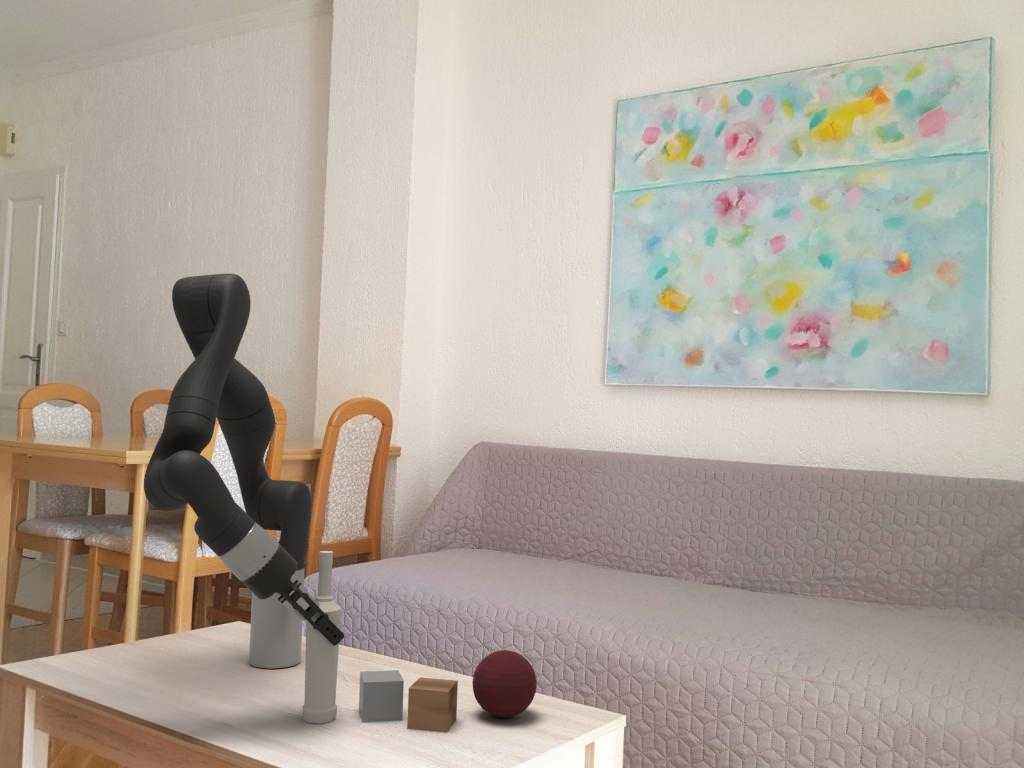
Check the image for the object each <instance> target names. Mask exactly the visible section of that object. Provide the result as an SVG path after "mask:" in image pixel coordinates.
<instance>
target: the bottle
mask: <svg viewBox="0 0 1024 768" xmlns="http://www.w3.org/2000/svg"><path fill="white" fill-rule="evenodd" d="M318 557H319V558H318V565H319V566H318V585H317V587H318V588H317V595H316V596H315V597H314V599H315V600H316V601H317V602H318V603H319V608H320V609H321V610H322V611H323V612H324V613H325V614H328V615H329V616H328V617H329V618H330V619H329V620H330V621H331V622H332V623H333V624H334V625H335V626H336V627H337V628H338V629H339V630H340V631H341V618H342V617H341V616H342V607H341V606H340V605H339V604H338V603H337V602H336V601H335V599H334V597H333V596H332V583H333V582H332V579H333V578H332V576H333V564H334V563H333V561H334V559H333V558H334V551H331V550H321V551H319V555H318ZM320 616H321V614H320V613H319V612H317V613H316V614H315V615H314V616H313V617H312V618H311V620H312V621H313V622H315V621H316V620H317V619H318V618H319V617H320ZM305 622H306V623H305V660H304V661H305V662H304V663H305V665H304V669H305V670H304V704H303V705H302V707H301V708H302V710H301V711H302V718H303V719H302V720H303V721H304V722H306V723H309V724H327V723H330V722H333V721H335V720H336V717H337V712H338V711H337V710H338V707H337V706H338V705H337V704H336V699H337V697H336V695H337V683H338V668H339V650H340V642H339V643H338V644H337V645H336V646H334V645H332V644H331V643H330V642H329V641H328V640H327V639H326V638H325V637H324V636H323V635H322V634H321V633H320V632H319V631H317V630H315V629H314V628H313V626H312V625H311V624H310V623H309V622H308V621H305Z"/></svg>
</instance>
